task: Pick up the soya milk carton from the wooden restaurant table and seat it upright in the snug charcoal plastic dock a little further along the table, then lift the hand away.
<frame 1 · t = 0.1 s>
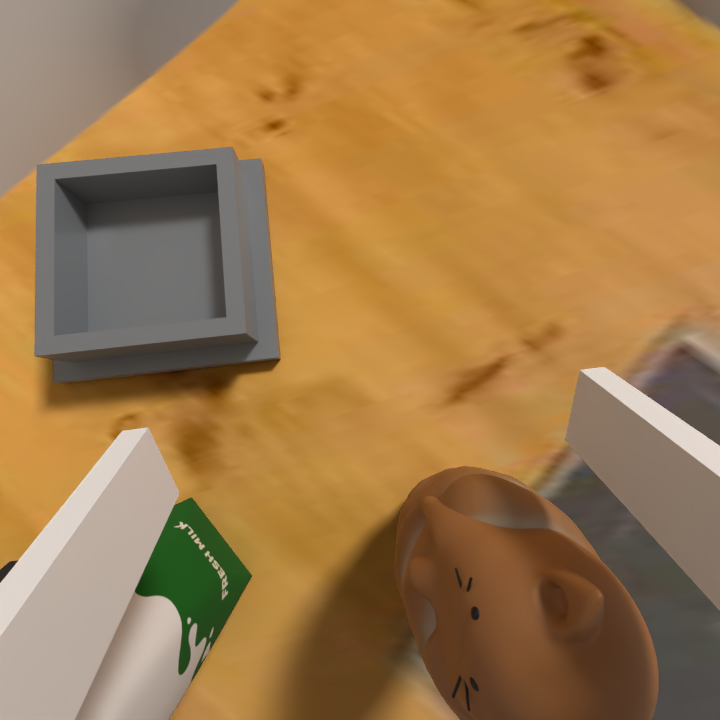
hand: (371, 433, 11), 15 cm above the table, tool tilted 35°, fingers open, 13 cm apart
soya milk: (183, 569, 25), on the table
dock: (169, 269, 28), on the table
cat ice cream: (433, 507, 26), on the table
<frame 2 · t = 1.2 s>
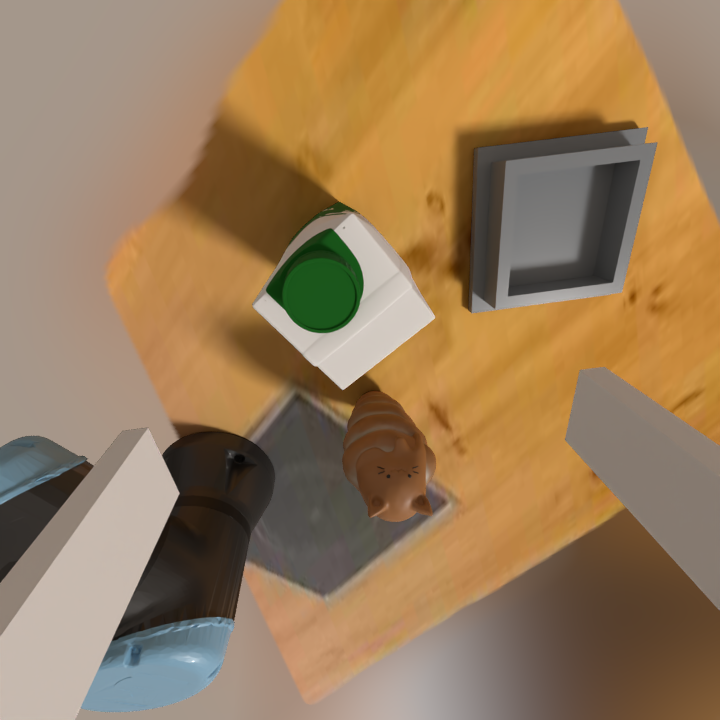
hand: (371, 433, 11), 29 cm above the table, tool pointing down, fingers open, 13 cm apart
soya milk: (337, 254, 37), on the table
dock: (546, 227, 37), on the table
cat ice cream: (372, 396, 45), on the table
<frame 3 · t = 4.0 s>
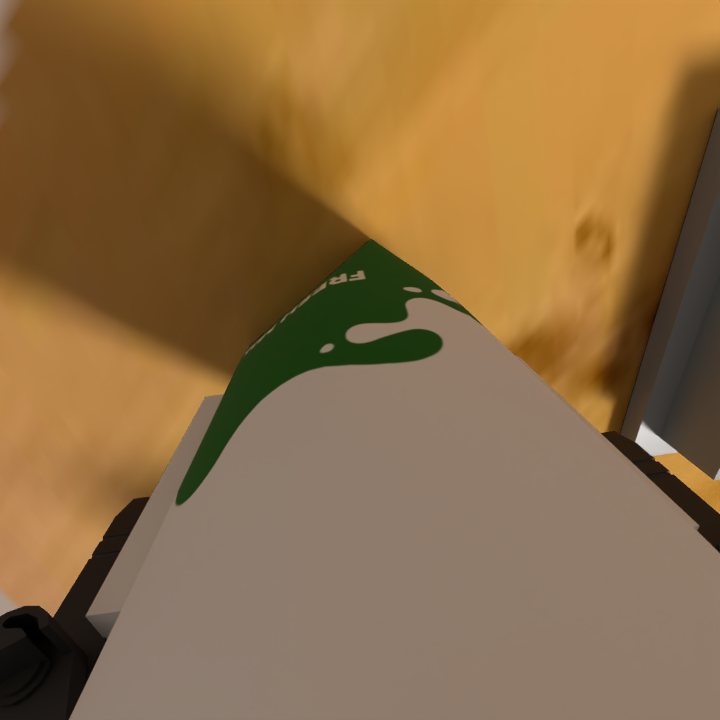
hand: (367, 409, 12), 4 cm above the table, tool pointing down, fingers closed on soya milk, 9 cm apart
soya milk: (361, 350, 16), on the table, touching gripper
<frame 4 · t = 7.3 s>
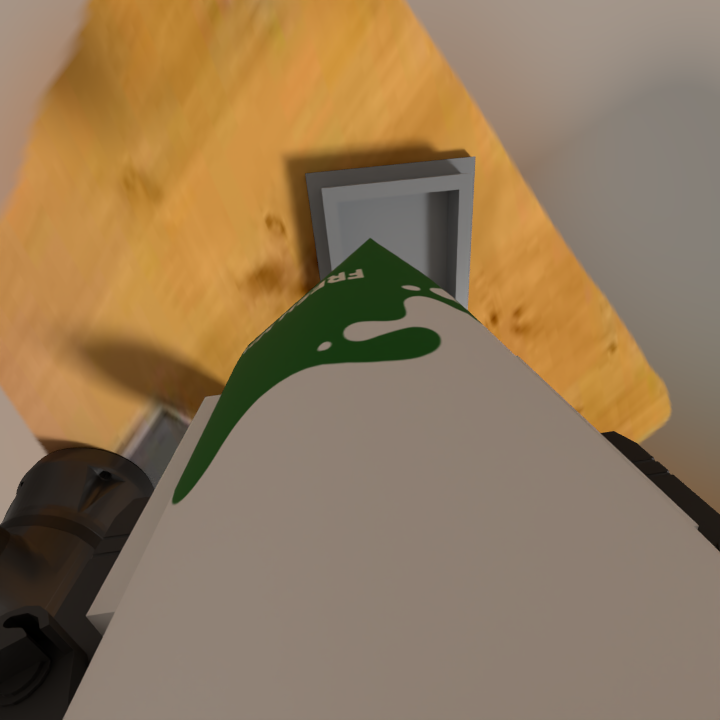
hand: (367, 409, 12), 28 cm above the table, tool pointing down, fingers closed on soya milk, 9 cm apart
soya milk: (360, 350, 16), point 23 cm above the table, touching gripper
dock: (393, 251, 38), on the table
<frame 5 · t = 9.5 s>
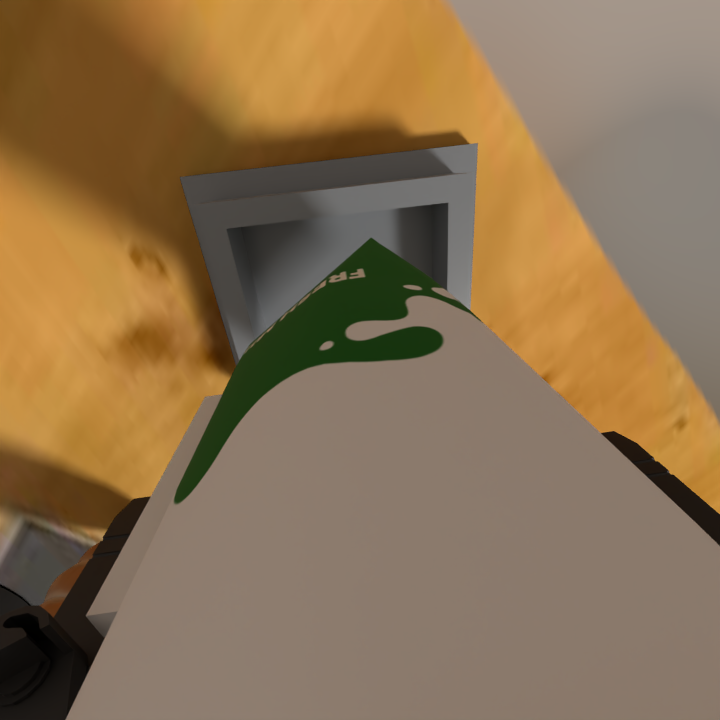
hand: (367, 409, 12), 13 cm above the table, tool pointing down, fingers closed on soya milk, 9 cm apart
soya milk: (361, 349, 16), point 8 cm above the table, touching gripper
dock: (347, 298, 24), on the table
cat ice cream: (146, 521, 32), on the table
when the fingers open (7 cm above the table, at t = 11.0 s): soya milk drops 2 cm, resting on dock.
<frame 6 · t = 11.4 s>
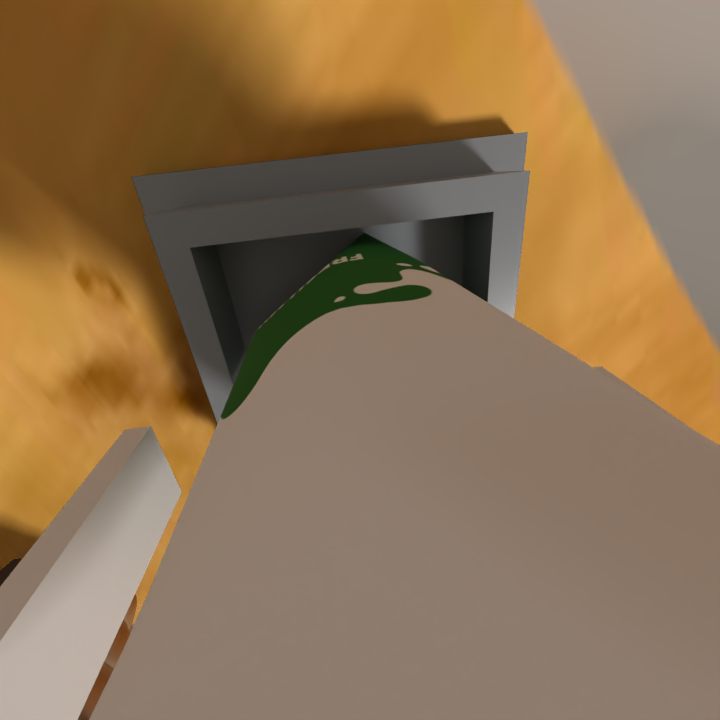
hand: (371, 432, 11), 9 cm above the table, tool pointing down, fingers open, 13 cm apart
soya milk: (356, 336, 18), point 1 cm above the table, touching dock
dock: (352, 328, 19), on the table
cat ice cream: (116, 580, 27), on the table
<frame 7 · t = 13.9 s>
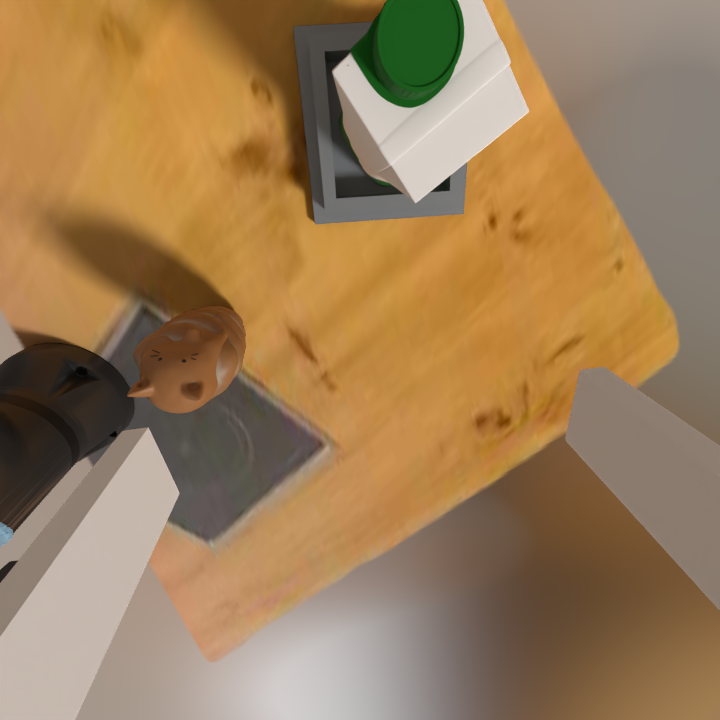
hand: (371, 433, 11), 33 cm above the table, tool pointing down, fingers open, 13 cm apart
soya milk: (389, 131, 35), point 1 cm above the table, touching dock
dock: (386, 131, 35), on the table
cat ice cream: (226, 317, 43), on the table
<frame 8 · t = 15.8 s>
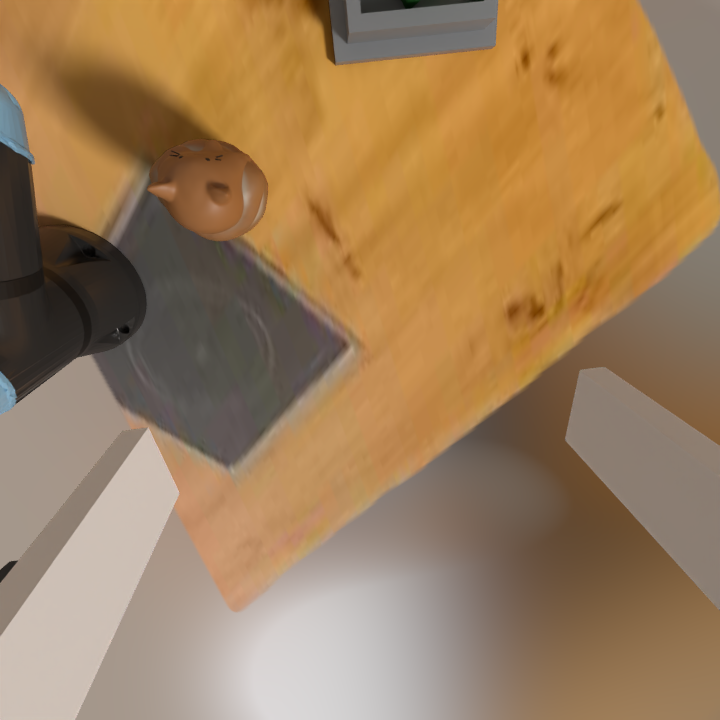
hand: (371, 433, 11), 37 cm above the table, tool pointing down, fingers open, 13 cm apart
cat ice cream: (241, 188, 40), on the table
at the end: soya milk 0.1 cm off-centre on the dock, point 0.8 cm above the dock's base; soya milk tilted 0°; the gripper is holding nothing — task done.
